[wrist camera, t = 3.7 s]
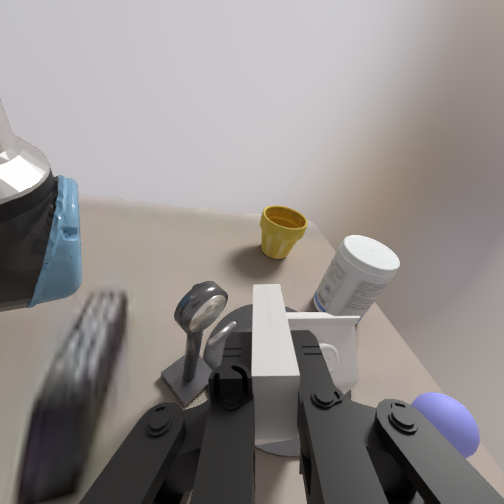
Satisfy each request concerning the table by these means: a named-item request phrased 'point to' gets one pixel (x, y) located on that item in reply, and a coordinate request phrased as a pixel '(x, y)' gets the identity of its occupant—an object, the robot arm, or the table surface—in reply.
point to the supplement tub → (355, 277)
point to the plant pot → (281, 230)
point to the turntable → (214, 359)
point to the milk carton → (329, 347)
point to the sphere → (450, 421)
